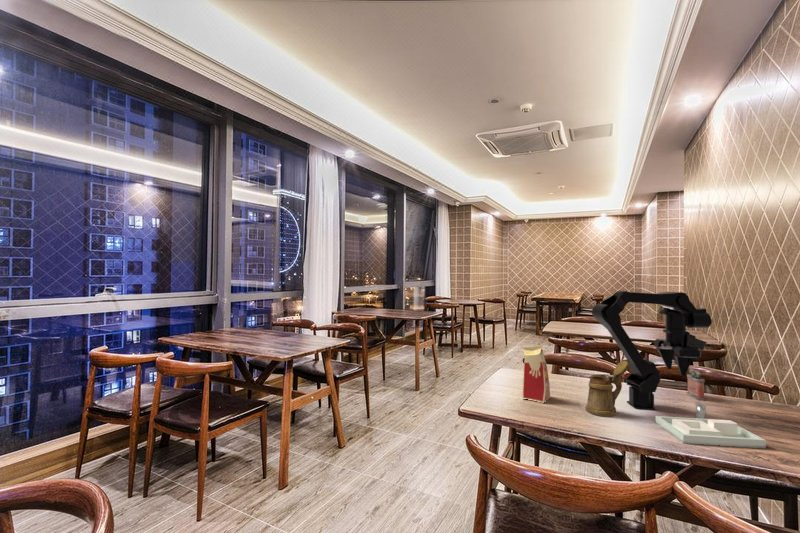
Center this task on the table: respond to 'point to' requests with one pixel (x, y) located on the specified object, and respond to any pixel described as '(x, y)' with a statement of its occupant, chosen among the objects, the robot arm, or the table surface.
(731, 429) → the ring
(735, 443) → the tray
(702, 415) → the grey knob with bar
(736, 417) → the table surface
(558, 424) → the table surface
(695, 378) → the lighter
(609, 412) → the wooden mug
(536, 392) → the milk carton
